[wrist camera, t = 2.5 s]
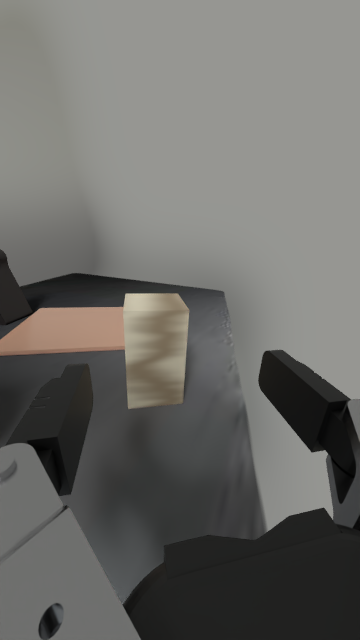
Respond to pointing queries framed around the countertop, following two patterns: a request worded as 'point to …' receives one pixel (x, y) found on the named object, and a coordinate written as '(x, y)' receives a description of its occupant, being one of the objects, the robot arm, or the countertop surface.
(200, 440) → the countertop surface
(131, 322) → the maple block
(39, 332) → the terracotta tile
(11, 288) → the phone stand
